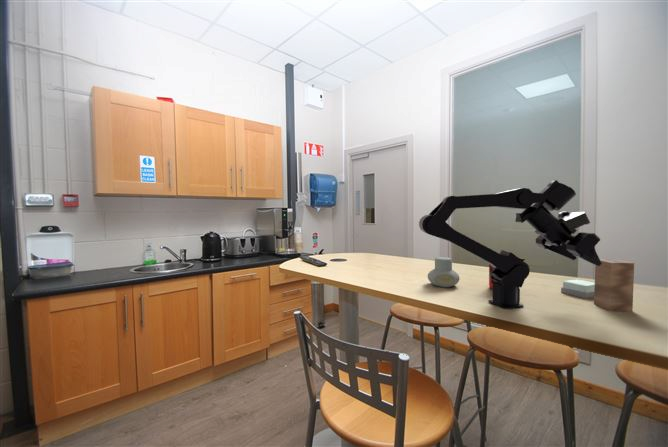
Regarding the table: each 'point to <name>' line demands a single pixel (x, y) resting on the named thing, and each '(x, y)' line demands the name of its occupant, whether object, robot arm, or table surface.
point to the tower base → (577, 293)
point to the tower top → (579, 285)
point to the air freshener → (443, 273)
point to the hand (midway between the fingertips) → (586, 261)
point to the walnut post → (614, 285)
